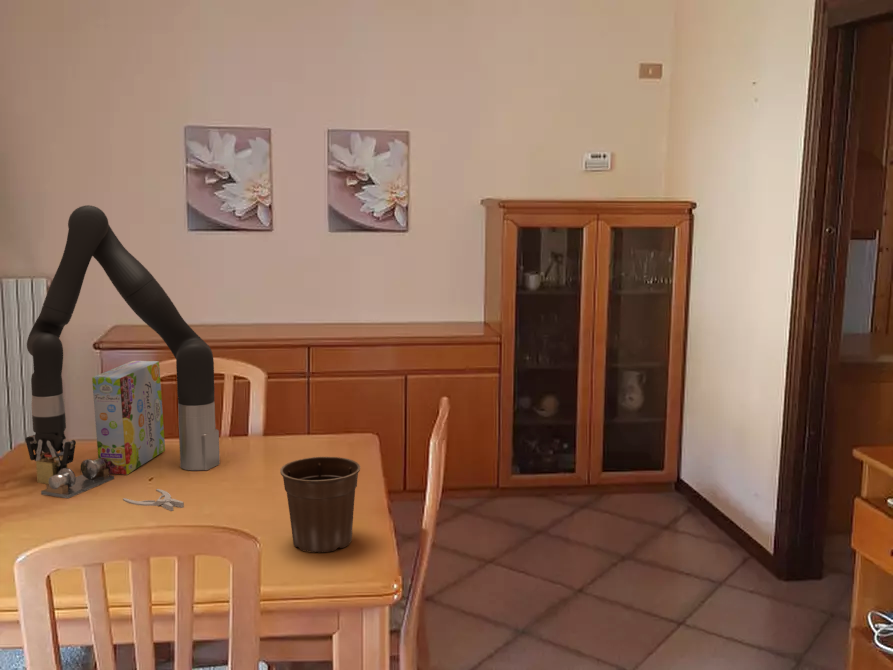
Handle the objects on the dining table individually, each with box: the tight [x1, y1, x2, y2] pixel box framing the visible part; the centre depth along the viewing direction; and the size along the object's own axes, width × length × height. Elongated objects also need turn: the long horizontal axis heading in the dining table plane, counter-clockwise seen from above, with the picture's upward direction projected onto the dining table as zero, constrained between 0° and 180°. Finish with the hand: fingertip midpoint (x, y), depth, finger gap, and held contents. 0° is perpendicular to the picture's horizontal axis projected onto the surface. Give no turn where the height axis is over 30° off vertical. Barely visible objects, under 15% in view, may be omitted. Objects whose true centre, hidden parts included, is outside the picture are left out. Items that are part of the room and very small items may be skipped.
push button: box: [35, 451, 69, 485], centre depth 229 cm, size 5×5×7 cm
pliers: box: [122, 488, 185, 512], centre depth 215 cm, size 10×2×15 cm
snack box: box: [91, 360, 166, 476], centre depth 243 cm, size 22×9×26 cm, turn 171°
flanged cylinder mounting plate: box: [40, 457, 115, 499], centre depth 225 cm, size 16×8×6 cm, turn 160°
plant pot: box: [280, 456, 361, 553], centre depth 190 cm, size 16×16×16 cm
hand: (52, 478), depth 229 cm, fingers closed on push button, 5 cm apart
